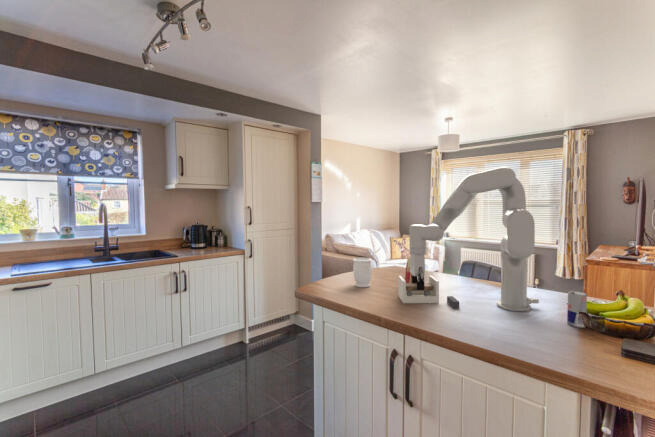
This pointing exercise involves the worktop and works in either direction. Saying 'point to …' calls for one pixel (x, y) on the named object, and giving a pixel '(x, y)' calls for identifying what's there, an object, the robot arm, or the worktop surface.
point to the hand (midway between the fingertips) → (417, 287)
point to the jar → (362, 271)
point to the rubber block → (453, 302)
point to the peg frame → (419, 292)
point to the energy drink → (576, 308)
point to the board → (414, 287)
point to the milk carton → (408, 272)
